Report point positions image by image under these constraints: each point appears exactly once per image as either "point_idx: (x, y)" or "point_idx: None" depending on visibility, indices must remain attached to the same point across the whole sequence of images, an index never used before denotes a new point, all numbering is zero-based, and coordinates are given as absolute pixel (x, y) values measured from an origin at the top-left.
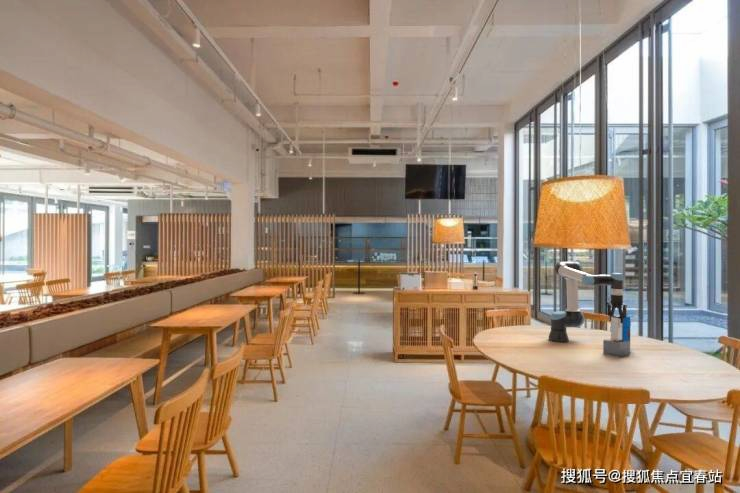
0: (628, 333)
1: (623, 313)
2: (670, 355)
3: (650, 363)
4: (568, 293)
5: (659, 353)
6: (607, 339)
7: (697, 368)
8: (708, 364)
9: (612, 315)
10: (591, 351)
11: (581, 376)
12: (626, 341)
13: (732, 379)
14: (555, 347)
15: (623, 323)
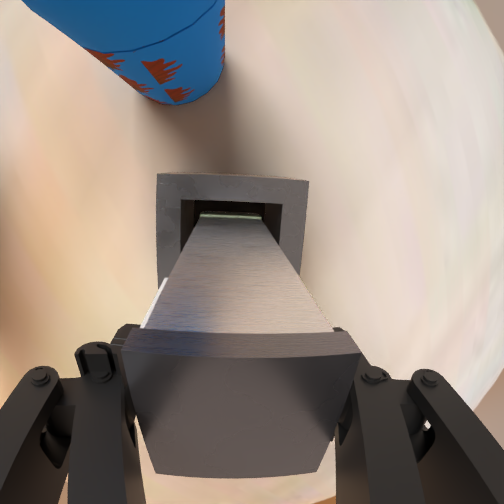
0: (222, 19)
1: (432, 488)
2: (392, 23)
3: (404, 254)
4: None
5: (350, 15)
6: (167, 276)
7: (499, 176)
8: (496, 88)
9: (151, 445)
10: (119, 286)
11: (295, 496)
12: (295, 212)
13: None
14: (26, 347)
15: (176, 3)
